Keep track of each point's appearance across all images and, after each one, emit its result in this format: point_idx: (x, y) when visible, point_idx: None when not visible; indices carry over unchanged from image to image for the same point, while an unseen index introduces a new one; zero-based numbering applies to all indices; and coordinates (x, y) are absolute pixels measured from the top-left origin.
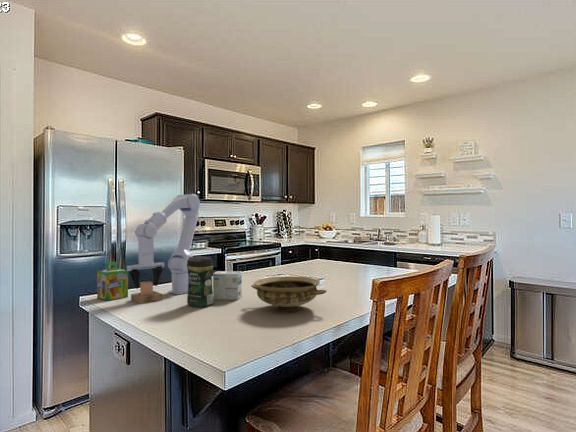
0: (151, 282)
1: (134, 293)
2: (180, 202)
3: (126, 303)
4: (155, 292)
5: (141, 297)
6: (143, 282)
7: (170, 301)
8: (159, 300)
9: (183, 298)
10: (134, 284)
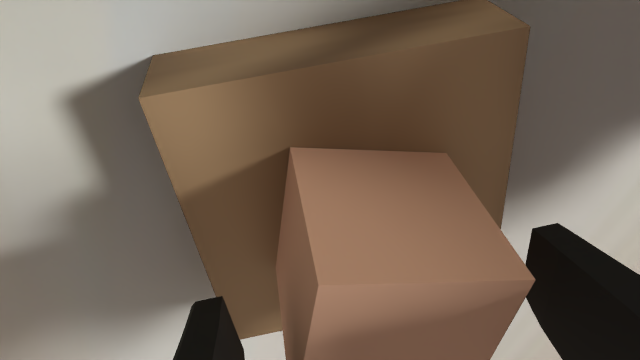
0: (481, 356)
1: (201, 88)
2: None
3: (91, 201)
4: (481, 186)
5: (252, 334)
6: (372, 312)
7: None
8: None
9: (620, 258)
10: (175, 357)
